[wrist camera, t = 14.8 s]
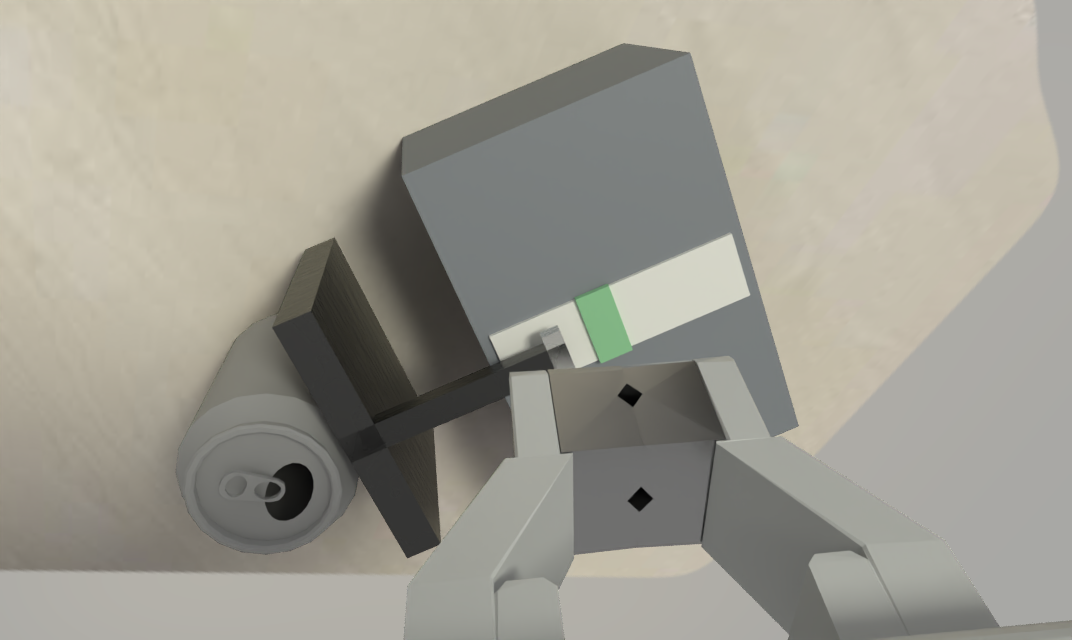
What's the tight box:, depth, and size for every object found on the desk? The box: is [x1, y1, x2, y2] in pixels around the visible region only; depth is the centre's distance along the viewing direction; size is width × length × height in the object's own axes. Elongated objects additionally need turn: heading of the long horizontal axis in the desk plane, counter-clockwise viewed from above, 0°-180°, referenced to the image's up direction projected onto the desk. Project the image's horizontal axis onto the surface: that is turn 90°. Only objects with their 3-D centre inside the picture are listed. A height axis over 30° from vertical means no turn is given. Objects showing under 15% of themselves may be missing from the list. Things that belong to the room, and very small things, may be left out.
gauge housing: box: [402, 43, 799, 437], centre depth 38 cm, size 12×18×10 cm, turn 21°
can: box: [176, 314, 359, 554], centre depth 37 cm, size 8×8×12 cm
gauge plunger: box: [272, 238, 575, 558], centre depth 37 cm, size 10×12×10 cm
